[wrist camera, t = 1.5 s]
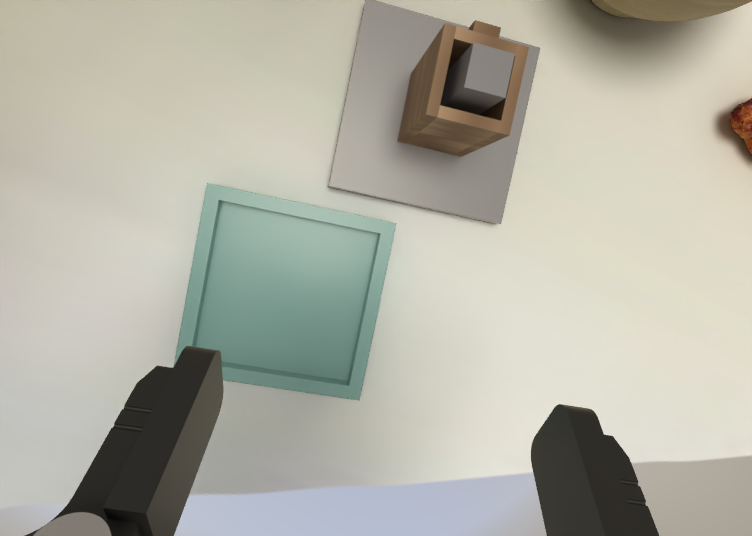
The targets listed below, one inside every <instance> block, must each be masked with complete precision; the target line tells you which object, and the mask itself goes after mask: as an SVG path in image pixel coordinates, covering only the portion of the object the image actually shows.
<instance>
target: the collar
mask: <svg viewBox="0 0 752 536" xmlns="http://www.w3.org/2000/svg"><path fill="white" fill-rule="evenodd" d="M500 29H501V28H500V27H497V26H493V25H490V24H486V23H483V22H479V21H476V20H475V21H474V23H473V24H472V25H471V26H470V27H469V29H464V28H461V27H458V26H454V25H451V24H447V23H445V24H444V25H443V27H442V28H441V30H440V31H439V33H438V34H437V36H436V37H435V38H434V40H433V41H432V43H431V44H430V46H429V47H428V49H427V50H426V52H425V53H424V55H423V56H422V58H421V59H420V61H419V62H418V64H417V65H416V67H415V68H414V70H413V71H412V72H411V76H410V81H409V86H408V90H407V95H406V100H405V105H404V110H403V115H402V120H401V124H400V129H399V134H398V139H397V142H401V143H405V144H410V145H414V146H418V147H422V148H426V149H430V150H434V151H439V152H443V153H447V154H451V155H455V156H459V157H462V156H464V155H467V154H469V153H471V152H473V151H476V150H478V149H480V148H482V147H485V146H487V145H489V144H492V143H494V142H496V141H498V140H501V139H503V138H505V137H507V136H510V132H511V127H512V123H513V118H514V113H515V109H516V104H517V100H518V95H519V91H520V86H521V82H522V77H523V73H524V68H525V64H526V59H527V55H528V50H529V47H527V46H524V45H520V44H517V43H513V42H510V41H506V40H503V39H499V34H500ZM474 42H475V43H478V44H482V45H485V46H489V47H493V48H496V49H500V50H503V51H507V52H510V53H514V54H515V57H514V61H513V66H512V70H511V75H510V79H509V84H508V89H507V93H506V98H505V99H503V100H502V101H500V102H498V103H497V104H495V105H494V106H492V107H491V108H489V109H487V110H486V111H484V112H483V113H481V114H480V115H476V114H473V113H469V112H465V111H461V110H457V109H453V108H449V107H445V106H441V105H440V103H441V98H442V93H443V89H444V84H445V79H446V74H447V71H448V70H449V69H450V68H451V67H452V66H453V65H454V63H455V62H456V61H457V60H458V59H459V58H460V57H461V56H462V55H463V54H464V52H465V51H466V50H467V49H468V48H469V47H470V46H471V45H472V44H473V43H474Z"/></svg>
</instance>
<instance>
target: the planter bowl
mask: <svg viewBox="0 0 752 536" xmlns="http://www.w3.org/2000/svg"><path fill="white" fill-rule="evenodd" d="M591 1H592V2H593V3H594V4H595V5H596V6H597V7H599V8H600V9H602V10H603V11H605V12H607V13H609V14H612V15H615V16H619V17H627V18H628V17H637V18H641V19H646V20H653V21H685V20H693V19H699V18H704V17H708V16H712V15H716V14H720V13H723V12H726V11H729V10H732V9H735V8H737V7H740V6H742V5H744V4H747V3H749V2H751V1H752V0H591Z"/></svg>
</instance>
